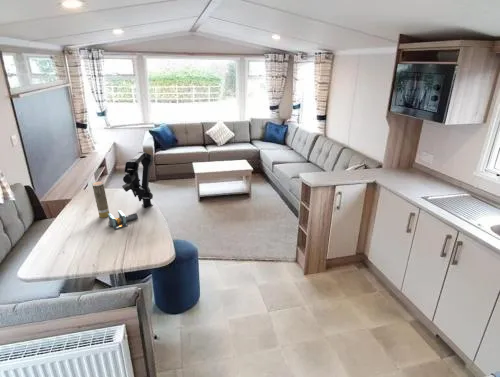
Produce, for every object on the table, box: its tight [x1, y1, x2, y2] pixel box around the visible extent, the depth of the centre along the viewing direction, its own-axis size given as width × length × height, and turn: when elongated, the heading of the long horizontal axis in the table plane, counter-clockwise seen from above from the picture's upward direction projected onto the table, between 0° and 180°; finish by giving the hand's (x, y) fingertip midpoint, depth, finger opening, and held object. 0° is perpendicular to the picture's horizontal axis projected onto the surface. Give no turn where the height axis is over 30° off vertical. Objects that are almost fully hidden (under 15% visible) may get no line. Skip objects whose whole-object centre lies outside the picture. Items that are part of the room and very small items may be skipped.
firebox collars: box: [108, 209, 128, 231], centre depth 207 cm, size 14×8×7 cm, turn 38°
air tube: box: [108, 212, 139, 227], centre depth 210 cm, size 18×4×4 cm, turn 128°
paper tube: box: [92, 181, 110, 219], centre depth 215 cm, size 7×7×25 cm
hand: (137, 198), depth 217 cm, fingers open, 9 cm apart
